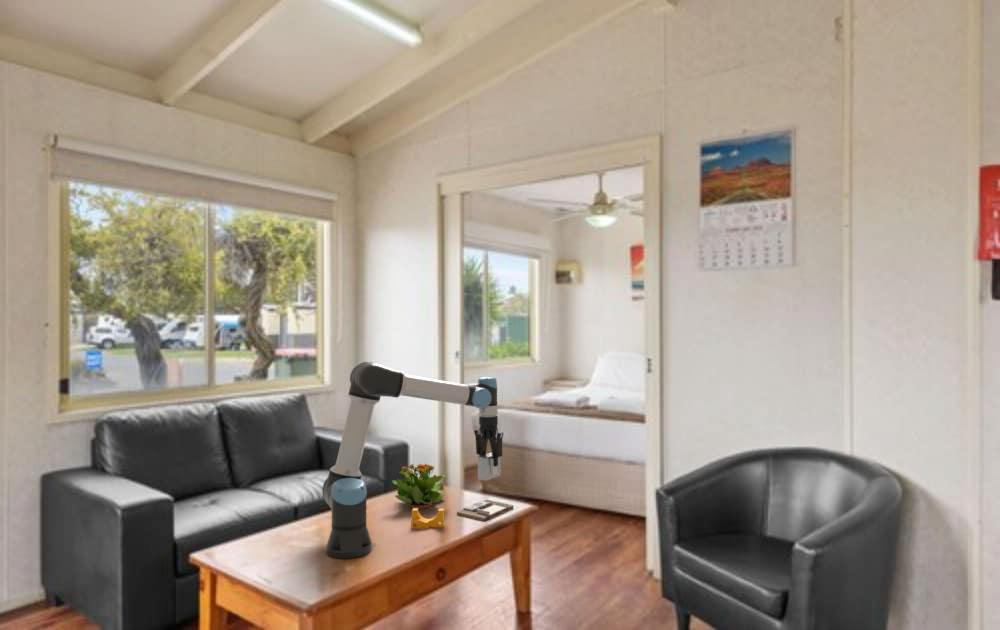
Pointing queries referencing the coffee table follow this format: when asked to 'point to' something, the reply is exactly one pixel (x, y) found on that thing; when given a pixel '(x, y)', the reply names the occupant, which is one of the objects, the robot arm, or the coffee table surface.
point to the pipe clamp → (426, 520)
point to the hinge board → (472, 509)
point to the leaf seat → (493, 508)
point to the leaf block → (487, 467)
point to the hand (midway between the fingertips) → (489, 473)
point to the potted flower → (419, 487)
